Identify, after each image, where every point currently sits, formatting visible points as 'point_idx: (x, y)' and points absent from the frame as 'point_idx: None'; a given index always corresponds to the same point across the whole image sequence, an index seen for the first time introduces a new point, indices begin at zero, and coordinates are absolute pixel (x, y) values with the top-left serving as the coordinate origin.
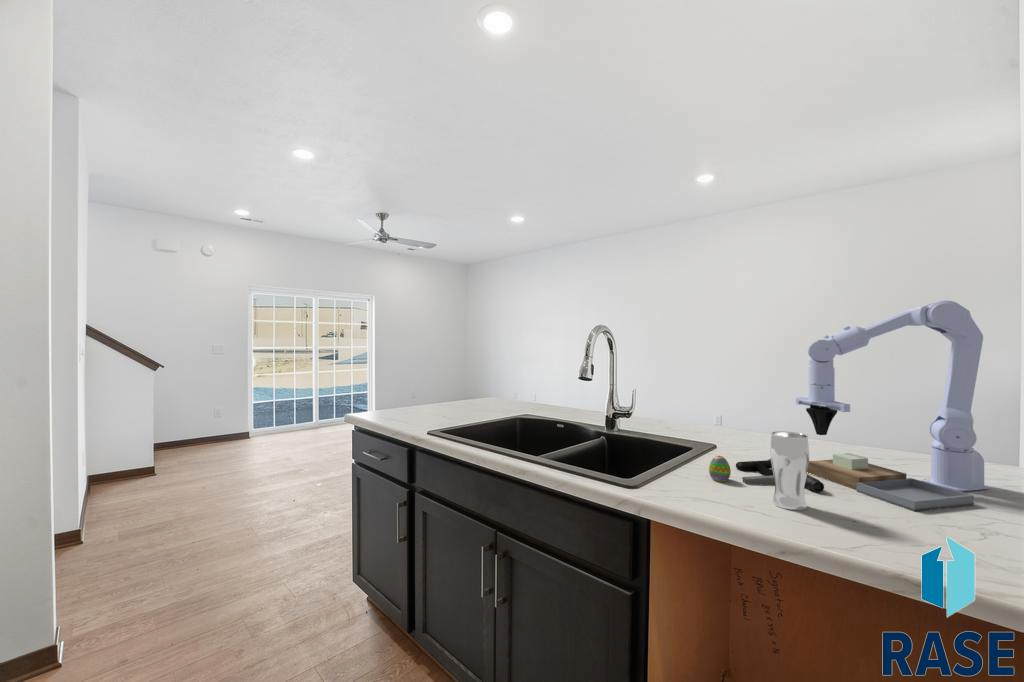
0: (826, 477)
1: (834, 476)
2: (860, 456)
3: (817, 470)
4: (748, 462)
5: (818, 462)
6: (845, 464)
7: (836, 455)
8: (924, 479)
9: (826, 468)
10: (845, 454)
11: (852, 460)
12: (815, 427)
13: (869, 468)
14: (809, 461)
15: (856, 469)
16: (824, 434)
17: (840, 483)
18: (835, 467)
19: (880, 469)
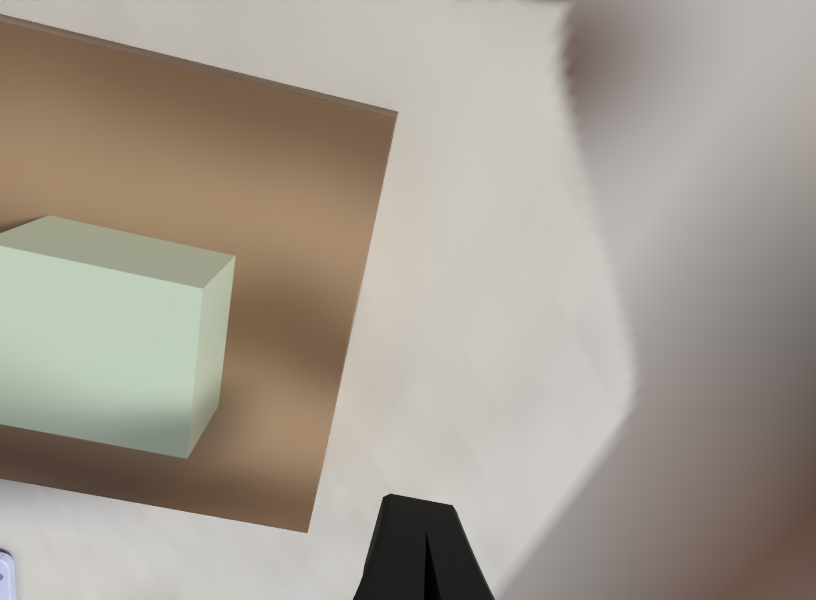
0: (197, 63)
1: (102, 42)
2: (60, 429)
3: (278, 86)
4: None
5: (319, 188)
6: (93, 238)
7: (159, 278)
8: (3, 576)
9: (163, 60)
10: (159, 390)
11: None
12: (462, 575)
13: None
14: (377, 141)
15: None
16: (371, 549)
17: (70, 31)
18: (139, 152)
19: None
